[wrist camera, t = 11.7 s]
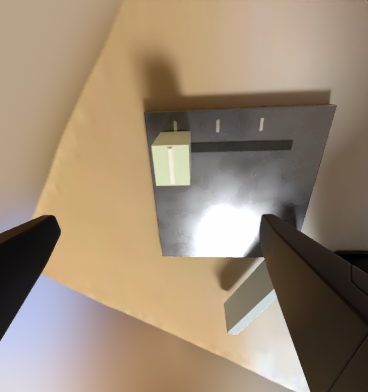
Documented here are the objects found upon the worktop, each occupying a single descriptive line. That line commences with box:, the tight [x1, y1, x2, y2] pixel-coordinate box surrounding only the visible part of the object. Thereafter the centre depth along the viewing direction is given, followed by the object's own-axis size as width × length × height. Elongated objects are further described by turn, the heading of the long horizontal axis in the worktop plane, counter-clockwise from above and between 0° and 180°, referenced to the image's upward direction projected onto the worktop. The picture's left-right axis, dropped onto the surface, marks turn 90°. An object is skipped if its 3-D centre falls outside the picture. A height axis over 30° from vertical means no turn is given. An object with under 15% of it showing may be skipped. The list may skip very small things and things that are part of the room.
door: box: [224, 260, 277, 335], centre depth 24 cm, size 14×2×4 cm, turn 156°
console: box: [144, 104, 337, 257], centre depth 21 cm, size 15×16×1 cm
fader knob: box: [151, 131, 191, 186], centre depth 17 cm, size 2×3×4 cm
